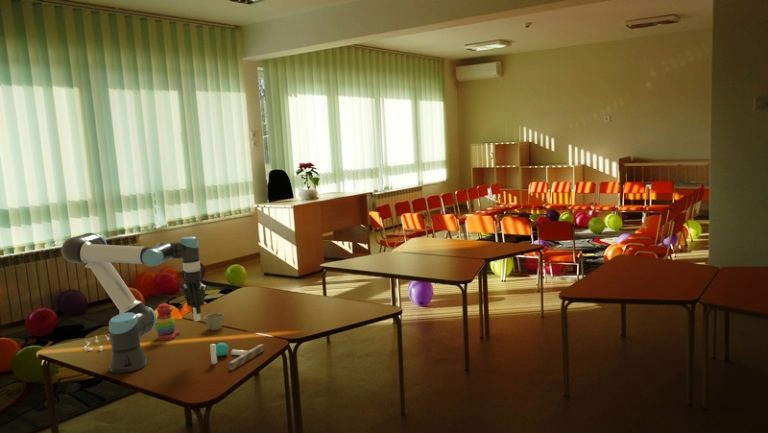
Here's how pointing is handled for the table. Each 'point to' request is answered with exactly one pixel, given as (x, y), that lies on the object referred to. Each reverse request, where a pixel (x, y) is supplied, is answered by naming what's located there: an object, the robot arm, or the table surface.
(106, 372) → the table surface
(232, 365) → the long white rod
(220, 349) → the ball
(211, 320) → the grey round cup
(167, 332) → the stacking bear
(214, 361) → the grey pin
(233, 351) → the ivory pin
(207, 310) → the table surface
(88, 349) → the game piece set
